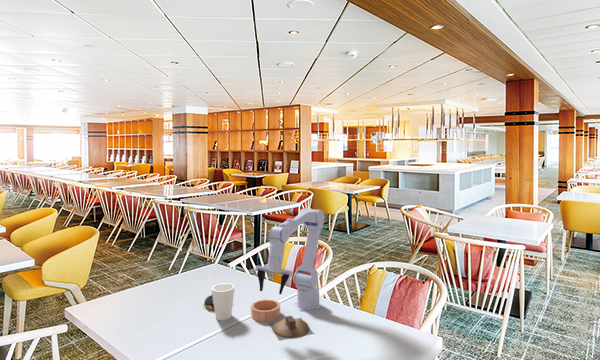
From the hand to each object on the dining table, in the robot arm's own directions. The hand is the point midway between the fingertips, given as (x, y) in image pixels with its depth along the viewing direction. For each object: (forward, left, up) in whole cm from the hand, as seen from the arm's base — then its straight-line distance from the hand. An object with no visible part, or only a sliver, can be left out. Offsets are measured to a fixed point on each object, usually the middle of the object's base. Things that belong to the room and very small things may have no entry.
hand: (270, 292), depth 145 cm
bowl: (-1, -13, -15) cm, 20 cm away
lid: (-7, +2, -15) cm, 17 cm away
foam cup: (+16, -18, -15) cm, 28 cm away
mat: (-7, +2, -15) cm, 17 cm away
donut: (+17, -31, -16) cm, 38 cm away
